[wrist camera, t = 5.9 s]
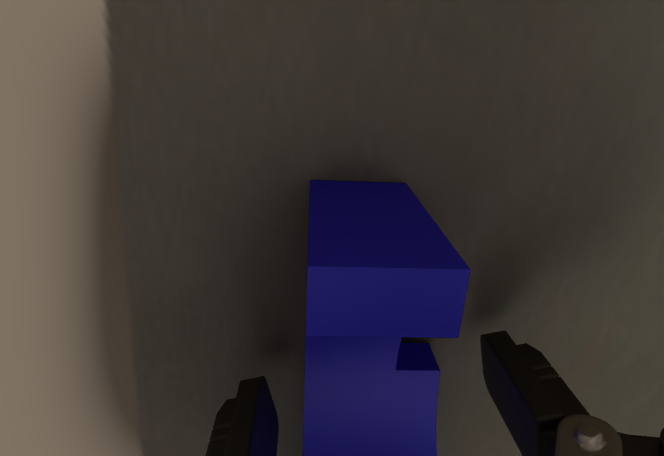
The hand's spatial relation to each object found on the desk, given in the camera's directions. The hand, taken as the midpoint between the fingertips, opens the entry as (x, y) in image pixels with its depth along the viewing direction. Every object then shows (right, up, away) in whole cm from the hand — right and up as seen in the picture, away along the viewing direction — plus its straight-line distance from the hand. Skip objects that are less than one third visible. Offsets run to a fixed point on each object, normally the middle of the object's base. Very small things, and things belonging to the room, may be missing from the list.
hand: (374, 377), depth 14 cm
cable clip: (0, +1, +2) cm, 2 cm away
